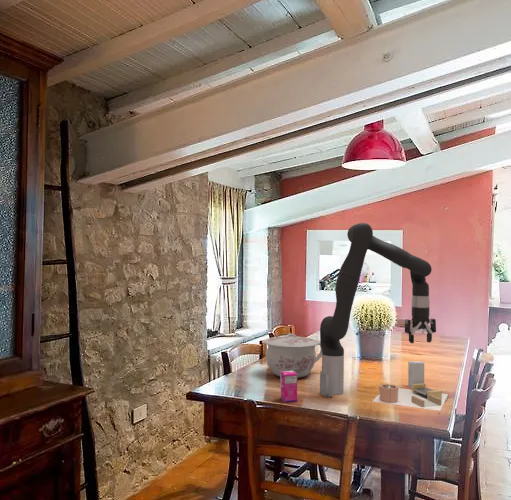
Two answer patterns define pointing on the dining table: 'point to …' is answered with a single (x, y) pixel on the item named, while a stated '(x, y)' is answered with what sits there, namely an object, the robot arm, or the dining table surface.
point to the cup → (388, 393)
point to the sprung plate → (423, 390)
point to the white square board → (419, 398)
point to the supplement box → (288, 386)
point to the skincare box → (415, 373)
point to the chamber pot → (291, 354)
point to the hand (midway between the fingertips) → (420, 342)
